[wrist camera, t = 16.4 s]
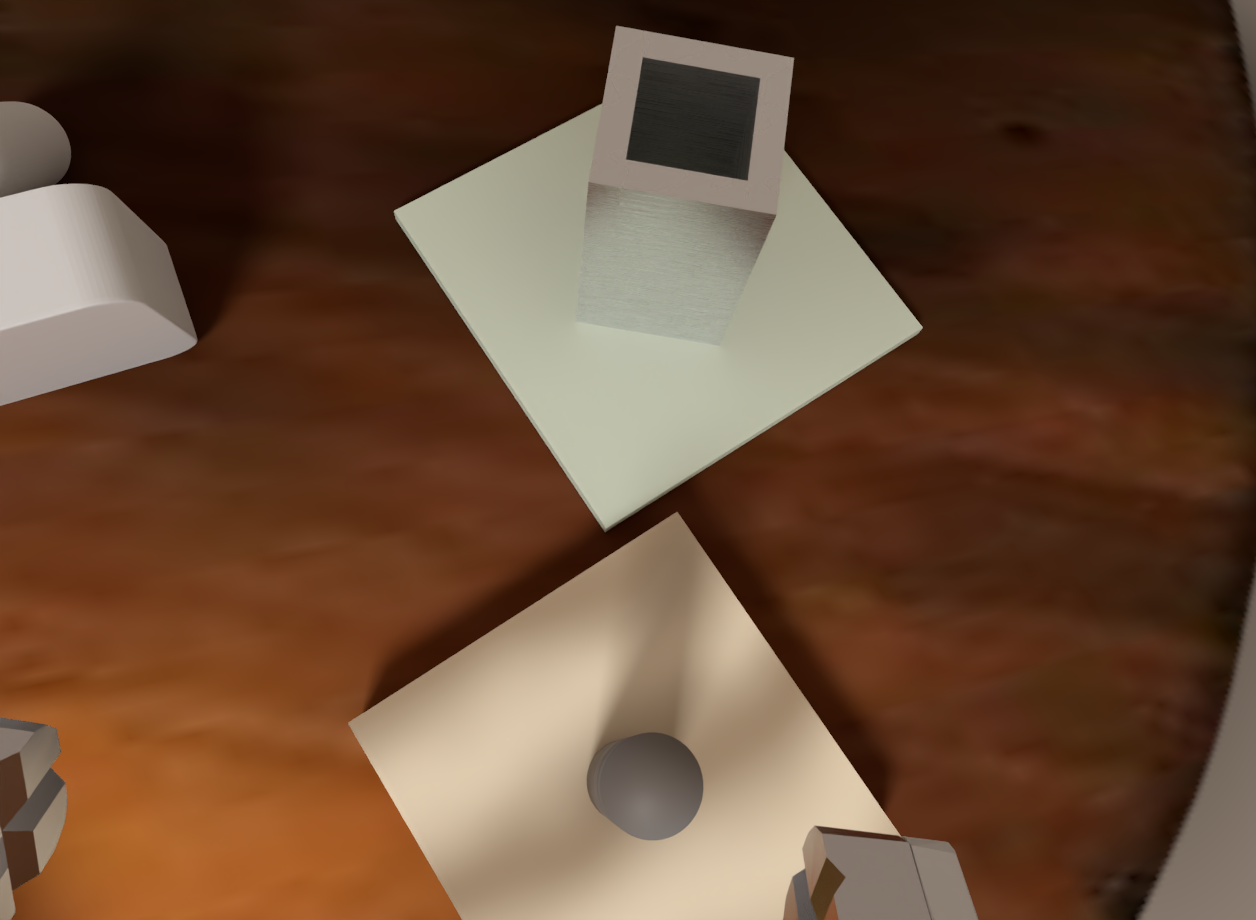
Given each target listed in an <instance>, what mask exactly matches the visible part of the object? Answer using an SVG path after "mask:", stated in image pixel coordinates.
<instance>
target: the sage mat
mask: <svg viewBox="0 0 1256 920" xmlns="http://www.w3.org/2000/svg"><path fill="white" fill-rule="evenodd" d="M601 109H602V104H600V105H599V106H597V107H595V108H593V109H591V110H589V111H587V112H585V113H583V114H581V115H579V116H577V117H575V118H573V119H571V120H569V121H567V122H566V123H564V124H562V125H560V126H558V127H556V128H554V129H552V130H550V131H548V132H546V133H544V134H542V135H540V136H538V137H536V138H535V139H533V140H531V141H529V142H527V143H525V144H523V145H521V146H519V147H517V148H515V149H513V150H511V151H509V152H507V153H505V154H503V155H502V156H500V157H498V158H496V159H494V160H492V161H490V162H488V163H486V164H484V165H482V166H480V167H478V168H476V169H474V170H472V171H470V172H469V173H467V174H465V175H463V176H461V177H459V178H457V179H455V180H453V181H451V182H449V183H447V184H445V185H443V186H441V187H439V188H438V189H436V190H434V191H432V192H430V193H428V194H426V195H424V196H422V197H420V198H418V199H416V200H414V201H412V202H410V203H408V204H406V205H405V206H403V207H401V208H399V209H397V210H395V211H394V214H395V218H396V220H397V222H398V223H399V225H400V226H401V228H402V229H403V231H404V232H405V234H406V235H407V237H408V238H409V240H410V241H411V243H412V244H413V246H414V247H415V249H416V250H417V252H418V253H419V255H420V256H421V258H422V259H423V261H424V262H425V264H426V265H427V267H428V268H429V270H430V271H431V273H432V274H433V276H434V277H435V279H436V280H437V282H438V283H439V285H440V286H441V288H442V289H443V291H444V292H445V294H446V295H447V297H448V298H449V300H450V301H451V303H452V304H453V306H454V307H455V309H456V310H457V312H458V313H459V315H460V316H461V318H462V319H463V321H464V322H465V324H466V325H467V327H468V328H469V330H470V331H471V333H472V334H473V336H474V337H475V339H476V340H477V342H478V343H479V345H480V346H481V348H482V349H483V351H484V352H485V354H486V355H487V357H488V358H489V360H490V361H491V363H492V364H493V366H494V367H495V369H496V370H497V372H498V373H499V375H500V376H501V378H502V379H503V381H504V382H505V384H506V385H507V387H508V388H509V389H510V391H511V392H512V394H513V395H514V397H515V398H516V400H517V401H518V403H519V404H520V406H521V407H522V409H523V410H524V412H525V413H526V415H527V416H528V418H529V419H530V421H531V422H532V424H533V425H534V427H535V428H536V430H537V431H538V433H539V434H540V436H541V437H542V439H543V440H544V442H545V443H546V445H547V446H548V448H549V449H550V451H551V452H552V454H553V455H554V457H555V458H556V460H557V461H558V463H559V464H560V466H561V467H562V469H563V470H564V472H565V473H566V475H567V476H568V478H569V479H570V481H571V482H572V484H573V485H574V487H575V488H576V490H577V491H578V493H579V494H580V496H581V497H582V499H583V500H584V502H585V503H586V505H587V506H588V508H589V509H590V511H591V512H592V514H593V515H594V517H595V518H596V520H597V521H598V523H599V524H600V526H601V527H602V529H603V530H604V532H606V531H608V530H610V529H611V528H613V527H614V526H616V525H617V524H619V523H621V522H622V521H624V520H625V519H627V518H628V517H630V516H632V515H633V514H635V513H636V512H638V511H639V510H641V509H643V508H644V507H646V506H647V505H649V504H650V503H652V502H654V501H655V500H657V499H658V498H660V497H662V496H663V495H665V494H666V493H668V492H669V491H671V490H673V489H674V488H676V487H677V486H679V485H680V484H682V483H684V482H685V481H687V480H688V479H690V478H691V477H693V476H695V475H696V474H698V473H699V472H701V471H703V470H704V469H706V468H707V467H709V466H710V465H712V464H714V463H715V462H717V461H718V460H720V459H721V458H723V457H725V456H726V455H728V454H729V453H731V452H732V451H734V450H736V449H737V448H739V447H740V446H742V445H743V444H745V443H747V442H748V441H750V440H751V439H753V438H755V437H756V436H758V435H759V434H761V433H762V432H764V431H766V430H767V429H769V428H770V427H772V426H773V425H775V424H777V423H778V422H780V421H781V420H783V419H784V418H786V417H788V416H789V415H791V414H792V413H794V412H796V411H797V410H799V409H800V408H802V407H803V406H805V405H807V404H808V403H810V402H811V401H813V400H814V399H816V398H818V397H819V396H821V395H822V394H824V393H825V392H827V391H829V390H830V389H832V388H833V387H835V386H836V385H838V384H840V383H841V382H843V381H844V380H846V379H848V378H849V377H851V376H852V375H854V374H855V373H857V372H859V371H860V370H862V369H863V368H865V367H866V366H868V365H870V364H871V363H873V362H874V361H876V360H877V359H879V358H881V357H882V356H884V355H885V354H887V353H888V352H890V351H892V350H893V349H895V348H896V347H898V346H900V345H901V344H903V343H904V342H906V341H907V340H909V339H911V338H912V337H914V336H915V335H917V334H918V333H919V332H920V331H921V329H922V328H923V327H922V326H921V325H920V323H919V322H918V321H917V319H916V318H915V317H914V316H913V314H912V313H911V312H910V310H909V309H908V308H907V307H906V305H905V304H904V303H903V302H902V300H901V299H900V298H899V296H898V295H897V294H896V293H895V291H894V290H893V289H892V287H891V286H890V285H889V284H888V282H887V281H886V280H885V278H884V277H883V276H882V275H881V273H880V272H879V271H878V269H877V268H876V267H875V266H874V264H873V263H872V262H871V261H870V259H869V258H868V257H867V255H866V254H865V253H864V252H863V250H862V249H861V248H860V246H859V245H858V244H857V243H856V241H855V240H854V239H853V237H852V236H851V235H850V234H849V232H848V231H847V230H846V228H845V227H844V226H843V225H842V223H841V222H840V221H839V220H838V218H837V217H836V216H835V214H834V213H833V212H832V211H831V209H830V208H829V207H828V205H827V204H826V203H825V202H824V200H823V199H822V198H821V196H820V195H819V194H818V193H817V191H816V190H815V189H814V187H813V186H812V185H811V184H810V182H809V181H808V180H807V178H806V177H805V176H804V175H803V173H802V172H801V171H800V170H799V168H798V167H797V166H796V164H795V163H794V162H793V161H792V159H791V158H790V157H789V155H788V154H787V153H786V152H785V150H784V153H783V162H782V171H781V180H780V189H779V198H778V207H777V215H776V217H775V220H774V222H773V224H772V226H771V229H770V231H769V233H768V236H767V238H766V240H765V242H764V245H763V247H762V249H761V252H760V254H759V256H758V258H757V261H756V263H755V265H754V268H753V270H752V272H751V274H750V277H749V279H748V281H747V283H746V286H745V288H744V290H743V293H742V295H741V297H740V299H739V302H738V304H737V306H736V309H735V311H734V313H733V315H732V318H731V320H730V322H729V325H728V327H727V329H726V331H725V334H724V336H723V338H722V340H721V343H720V345H719V346H717V345H711V344H706V343H700V342H694V341H688V340H682V339H676V338H670V337H664V336H658V335H652V334H646V333H640V332H634V331H628V330H622V329H616V328H611V327H605V326H599V325H593V324H587V323H581V322H576V315H577V304H578V293H579V281H580V270H581V259H582V248H583V237H584V226H585V215H586V204H587V193H588V182H589V176H590V171H591V165H592V159H593V154H594V148H595V142H596V137H597V131H598V125H599V120H600V114H601Z"/></svg>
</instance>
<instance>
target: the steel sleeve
mask: <svg viewBox="0 0 1256 920" xmlns="http://www.w3.org/2000/svg"><path fill="white" fill-rule="evenodd" d="M793 63H794V58H792V57H786V56H781V55H775V54H770V53H764V52H759V51H753V50H748V49H742V48H737V47H731V46H726V45H720V44H714V43H709V42H703V41H698V40H692V39H687V38H681V37H676V36H670V35H665V34H659V33H654V32H648V31H643V30H637V29H632V28H626V27H621V26H616V30H615V35H614V41H613V47H612V52H611V58H610V64H609V69H608V75H607V80H606V86H605V92H604V97H603V103H602V109H601V114H600V120H599V125H598V131H597V137H596V142H595V148H594V154H593V159H592V165H591V171H590V176H589V182H588V193H587V204H586V215H585V226H584V237H583V248H582V259H581V270H580V281H579V293H578V304H577V315H576V322H581V323H587V324H593V325H599V326H605V327H611V328H616V329H622V330H628V331H634V332H640V333H646V334H652V335H658V336H664V337H670V338H676V339H682V340H688V341H694V342H700V343H706V344H711V345H717V346H719V345H720V343H721V340H722V338H723V336H724V334H725V331H726V329H727V327H728V325H729V322H730V320H731V318H732V315H733V313H734V311H735V309H736V306H737V304H738V302H739V299H740V297H741V295H742V293H743V290H744V288H745V286H746V283H747V281H748V279H749V277H750V274H751V272H752V270H753V268H754V265H755V263H756V261H757V258H758V256H759V254H760V252H761V249H762V247H763V245H764V242H765V240H766V238H767V236H768V233H769V231H770V229H771V226H772V224H773V222H774V220H775V217H776V215H777V207H778V198H779V189H780V180H781V171H782V162H783V153H784V144H785V135H786V126H787V117H788V108H789V99H790V90H791V81H792V72H793Z"/></svg>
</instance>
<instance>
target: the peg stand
mask: <svg viewBox="0 0 1256 920" xmlns="http://www.w3.org/2000/svg"><path fill="white" fill-rule="evenodd" d="M348 724H349V726H350V728H351V729H352V731H353V733H354V734H355V736H356V738H357V740H358V741H359V743H360V745H361V746H362V748H363V750H364V752H365V753H366V755H367V757H368V759H369V760H370V762H371V764H372V765H373V767H374V769H375V771H376V772H377V774H378V776H379V777H380V779H381V781H382V783H383V784H384V786H385V788H386V789H387V791H388V793H389V795H390V796H391V798H392V800H393V802H394V803H395V805H396V807H397V808H398V810H399V812H400V814H401V815H402V817H403V819H404V820H405V822H406V824H407V826H408V827H409V829H410V831H411V832H412V834H413V836H414V838H415V839H416V841H417V843H418V844H419V846H420V848H421V850H422V851H423V853H424V855H425V857H426V858H427V860H428V862H429V863H430V865H431V867H432V869H433V870H434V872H435V874H436V875H437V877H438V879H439V881H440V882H441V884H442V886H443V887H444V889H445V891H446V893H447V894H448V896H449V898H450V900H451V901H452V903H453V905H454V906H455V908H456V910H457V912H458V913H459V915H460V917H461V918H462V920H783V916H784V908H785V900H786V895H787V892H788V889H789V886H790V883H791V879H792V877H793V876H794V875H796V874H797V873H799V872H800V871H802V870H803V869H805V864H804V857H803V851H802V848H803V845H804V843H805V840H806V837H807V835H808V832H809V831H810V830H811V829H812V828H813V827H814V825H815V826H823V827H832V828H840V829H848V830H856V831H865V832H873V833H881V834H890V835H898V836H900V835H899V833H898V832H897V830H896V829H895V827H894V826H893V824H892V823H891V822H890V820H889V819H888V817H887V816H886V814H885V813H884V811H883V810H882V808H881V807H880V806H879V804H878V803H877V801H876V800H875V798H874V797H873V795H872V794H871V793H870V791H869V790H868V788H867V787H866V785H865V784H864V782H863V781H862V779H861V778H860V777H859V775H858V774H857V772H856V771H855V769H854V768H853V766H852V765H851V763H850V762H849V761H848V759H847V758H846V756H845V755H844V753H843V752H842V750H841V749H840V747H839V746H838V745H837V743H836V742H835V740H834V739H833V737H832V736H831V734H830V733H829V731H828V730H827V729H826V727H825V726H824V724H823V723H822V721H821V720H820V718H819V717H818V716H817V714H816V713H815V711H814V710H813V708H812V707H811V705H810V704H809V702H808V701H807V700H806V698H805V697H804V695H803V694H802V692H801V691H800V689H799V688H798V686H797V685H796V684H795V682H794V681H793V679H792V678H791V676H790V675H789V673H788V672H787V670H786V669H785V668H784V666H783V665H782V663H781V662H780V660H779V659H778V657H777V656H776V655H775V653H774V652H773V650H772V649H771V647H770V646H769V644H768V643H767V641H766V640H765V639H764V637H763V636H762V634H761V633H760V631H759V630H758V628H757V627H756V625H755V624H754V623H753V621H752V620H751V618H750V617H749V615H748V614H747V612H746V611H745V609H744V608H743V607H742V605H741V604H740V602H739V601H738V599H737V598H736V596H735V595H734V594H733V592H732V591H731V589H730V588H729V586H728V585H727V583H726V582H725V580H724V579H723V578H722V576H721V575H720V573H719V572H718V570H717V569H716V567H715V566H714V564H713V563H712V562H711V560H710V559H709V557H708V556H707V554H706V553H705V551H704V550H703V548H702V547H701V546H700V544H699V543H698V541H697V540H696V538H695V537H694V535H693V534H692V533H691V531H690V530H689V528H688V527H687V525H686V524H685V522H684V521H683V519H682V518H681V517H680V515H679V514H678V512H676V513H674V514H673V515H671V516H670V517H668V518H667V519H665V520H663V521H662V522H660V523H659V524H657V525H656V526H654V527H653V528H651V529H649V530H648V531H646V532H645V533H643V534H642V535H640V536H639V537H637V538H635V539H634V540H632V541H631V542H629V543H628V544H626V545H624V546H623V547H621V548H620V549H618V550H617V551H615V552H614V553H612V554H610V555H609V556H607V557H606V558H604V559H603V560H601V561H600V562H598V563H596V564H595V565H593V566H592V567H590V568H589V569H587V570H586V571H584V572H582V573H581V574H579V575H578V576H576V577H575V578H573V579H571V580H570V581H568V582H567V583H565V584H564V585H562V586H561V587H559V588H557V589H556V590H554V591H553V592H551V593H550V594H548V595H547V596H545V597H543V598H542V599H540V600H539V601H537V602H536V603H534V604H533V605H531V606H529V607H528V608H526V609H525V610H523V611H522V612H520V613H518V614H517V615H515V616H514V617H512V618H511V619H509V620H508V621H506V622H504V623H503V624H501V625H500V626H498V627H497V628H495V629H494V630H492V631H490V632H489V633H487V634H486V635H484V636H483V637H481V638H480V639H478V640H476V641H475V642H473V643H472V644H470V645H469V646H467V647H465V648H464V649H462V650H461V651H459V652H458V653H456V654H455V655H453V656H451V657H450V658H448V659H447V660H445V661H444V662H442V663H441V664H439V665H437V666H436V667H434V668H433V669H431V670H430V671H428V672H427V673H425V674H423V675H422V676H420V677H419V678H417V679H416V680H414V681H412V682H411V683H409V684H408V685H406V686H405V687H403V688H402V689H400V690H398V691H397V692H395V693H394V694H392V695H391V696H389V697H388V698H386V699H384V700H383V701H381V702H380V703H378V704H377V705H375V706H374V707H372V708H370V709H369V710H367V711H366V712H364V713H363V714H361V715H359V716H358V717H356V718H355V719H353V720H352V721H350V722H349V723H348ZM900 837H901V836H900Z"/></svg>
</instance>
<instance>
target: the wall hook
mask: <svg viewBox="0 0 1256 920" xmlns="http://www.w3.org/2000/svg"><path fill="white" fill-rule="evenodd" d="M70 160H71V148H70V143H69V140H68V137H67V135H66V133H65V131H64V129H63V128H62V126H61V125H60V124H59V123H58V121H57V120H56V119H55V118H54V117H52V116H51V115H50V114H49V113H47V112H46V111H44V110H43V109H41V108H39V107H37V106H34V105H31V104H28V103H23V102H0V405H4V404H8V403H12V402H15V401H19V400H22V399H26V398H29V397H33V396H36V395H40V394H43V393H47V392H50V391H53V390H57V389H60V388H64V387H67V386H71V385H74V384H78V383H81V382H85V381H88V380H92V379H95V378H99V377H102V376H106V375H109V374H113V373H116V372H120V371H123V370H127V369H130V368H134V367H137V366H141V365H144V364H148V363H151V362H155V361H158V360H162V359H165V358H168V357H171V356H174V355H177V354H179V353H182V352H184V351H186V350H188V349H190V348H191V347H193V346H194V345H195V344H196V343H197V336H196V333H195V330H194V327H193V324H192V321H191V317H190V314H189V311H188V308H187V305H186V302H185V299H184V296H183V293H182V290H181V287H180V284H179V281H178V278H177V275H176V272H175V269H174V266H173V263H172V260H171V257H170V254H169V251H168V248H167V245H166V244H165V242H164V241H163V240H162V239H161V238H160V237H159V236H157V235H156V234H155V233H154V232H153V231H152V230H151V229H150V228H149V227H148V226H147V225H146V224H145V223H144V222H143V221H142V220H141V219H140V218H139V217H138V216H137V215H136V214H135V213H134V212H132V211H131V210H130V209H129V208H128V207H127V206H126V205H125V204H124V203H123V202H122V201H121V200H120V199H119V198H118V197H116V196H115V195H114V194H113V193H112V192H111V191H110V190H108V189H106V188H104V187H101V186H96V185H90V184H60V185H55V184H56V183H58V182H59V181H60V180H61V179H62V178H63V176H64V175H65V174H66V172H67V170H68V168H69V165H70Z"/></svg>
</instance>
